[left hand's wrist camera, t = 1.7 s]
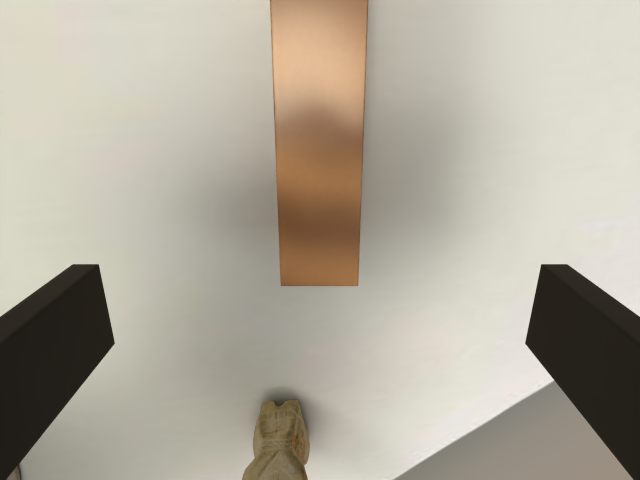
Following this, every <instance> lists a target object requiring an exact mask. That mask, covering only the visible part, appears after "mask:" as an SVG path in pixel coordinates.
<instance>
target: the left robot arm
mask: <svg viewBox="0 0 640 480" xmlns="http://www.w3.org/2000/svg"><path fill="white" fill-rule="evenodd" d="M114 344H115V342H114V337H113V332H112V328H111V323H110V318H109V313H108V308H107V303H106V298H105V293H104V288H103V283H102V279H101V274H100V269H99V264H73V265H71V266H70V267H69V268H67V269H66V270H64V271H63V272H62V273H60V274H59V275H58V276H56V277H55V278H53V279H52V280H51V281H49V282H48V283H46V284H45V285H44V286H42V287H41V288H40V289H38V290H37V291H35V292H34V293H33V294H31V295H30V296H29V297H27V298H26V299H24V300H23V301H22V302H20V303H19V304H17V305H16V306H15V307H13V308H12V309H11V310H9V311H8V312H6V313H5V314H4V315H2V316H1V317H0V480H20V474H19V469H18V464H19V463H20V462H21V461H22V459H23V458H24V457H25V456H26V454H27V453H28V452H29V451H30V449H31V448H32V447H33V446H34V444H35V443H36V442H37V441H38V439H39V438H40V437H41V436H42V434H43V433H44V432H45V430H46V429H47V428H48V427H49V425H50V424H51V423H52V422H53V420H54V419H55V418H56V417H57V415H58V414H59V413H60V412H61V410H62V409H63V408H64V407H65V405H66V404H67V403H68V402H69V400H70V399H71V398H72V397H73V395H74V394H75V393H76V392H77V390H78V389H79V388H80V386H81V385H82V384H83V383H84V381H85V380H86V379H87V378H88V376H89V375H90V374H91V373H92V371H93V370H94V369H95V368H96V366H97V365H98V364H99V363H100V361H101V360H102V359H103V358H104V356H105V355H106V354H107V353H108V351H109V350H110V349H111V348H112V346H113V345H114ZM525 344H526V345H527V346H528V348H529V349H530V350H531V351H532V353H533V354H534V355H535V356H536V358H537V359H538V360H539V361H540V363H541V364H542V365H543V366H544V368H545V369H546V370H547V371H548V373H549V374H550V375H551V376H552V378H553V379H554V380H555V381H556V383H557V384H558V385H559V386H560V388H561V389H562V390H563V392H564V393H565V394H566V395H567V397H568V398H569V399H570V400H571V401H572V403H573V404H574V405H575V407H576V408H577V409H578V410H579V412H580V413H581V414H582V415H583V417H584V418H585V419H586V420H587V422H588V423H589V424H590V425H591V427H592V428H593V429H594V430H595V432H596V433H597V434H598V436H599V437H600V438H601V439H602V440H603V442H604V443H605V444H606V446H607V447H608V448H609V449H610V451H611V452H612V453H613V454H614V456H615V457H616V458H617V459H618V461H619V462H620V463H621V464H622V466H623V467H624V468H625V469H626V471H627V472H628V473H629V475H630V476H631V477H632V478H633V480H640V317H639V316H638V315H636V314H635V313H634V312H632V311H631V310H629V309H628V308H627V307H625V306H624V305H623V304H621V303H620V302H618V301H617V300H616V299H614V298H613V297H611V296H610V295H609V294H607V293H606V292H605V291H603V290H602V289H600V288H599V287H598V286H596V285H595V284H594V283H592V282H591V281H589V280H588V279H587V278H585V277H584V276H582V275H581V274H580V273H578V272H577V271H576V270H574V269H573V268H571V267H570V266H569V265H567V264H541V269H540V274H539V279H538V283H537V288H536V293H535V298H534V303H533V308H532V313H531V318H530V323H529V328H528V332H527V337H526V342H525Z"/></svg>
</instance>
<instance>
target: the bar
mask: <svg viewBox="0 0 640 480" xmlns="http://www.w3.org/2000/svg"><path fill="white" fill-rule="evenodd" d="M270 9H271V36H272V63H273V90H274V117H275V144H276V172H277V199H278V226H279V253H280V280H281V286H358V271H359V243H360V215H361V187H362V159H363V131H364V103H365V75H366V47H367V19H368V0H270Z"/></svg>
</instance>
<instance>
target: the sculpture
mask: <svg viewBox="0 0 640 480" xmlns="http://www.w3.org/2000/svg"><path fill="white" fill-rule="evenodd" d="M253 449H254V456H255V459H254V460H253V461H252V462H251V463H250V465H249V466H248V467H247V468H246V470H245V471H244V474H243V478H242V480H308V479H307V475H306V471H305V468H304V465H305V464H306V463H307V461H308V457H309V438H308V434H307V430H306V427H305V424H304V421H303V418H302V413H301V410H300V404H299V402H298V400H286V401H285V402H284V404H283V405H281V406H277V404H276V402H275V401H268V402H264V403H263V404H262V407H261V413H260V416H259V418H258V420H257V423H256V427H255V432H254V438H253Z"/></svg>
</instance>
